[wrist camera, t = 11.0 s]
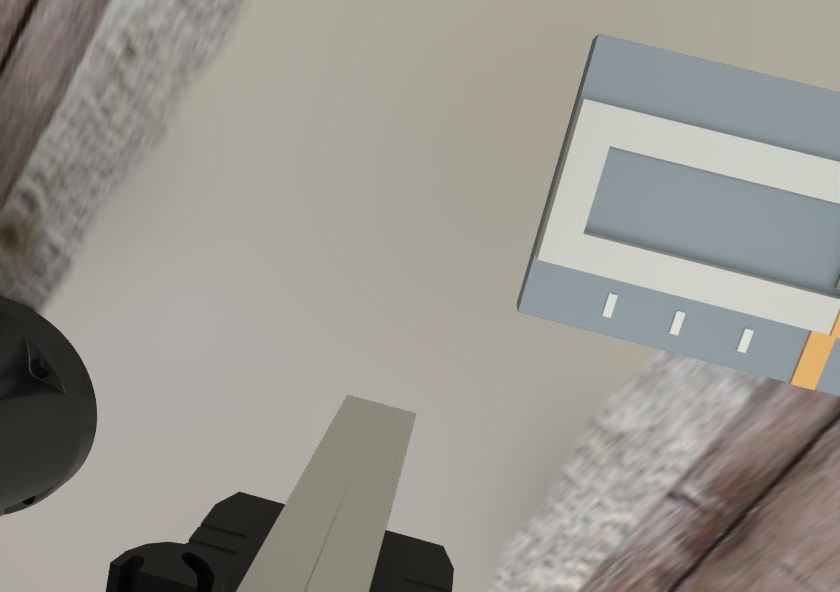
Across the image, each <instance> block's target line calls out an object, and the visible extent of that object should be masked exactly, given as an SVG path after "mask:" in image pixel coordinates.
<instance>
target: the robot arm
mask: <svg viewBox="0 0 840 592" xmlns="http://www.w3.org/2000/svg"><path fill="white" fill-rule="evenodd" d="M415 417H416V413H413V412H409V411H406V410H402V409H398V408H395V407H391V406H387V405H384V404H380V403H376V402H372V401H369V400H365V399H361V398H358V397H354V396H350V395H347V396H346V398H345V400H344V401H343V404H342V405H341V407H340V409H339V410H338V412H337V414H336V416H335V418H334V419H333V421H332V423H331V425H330V426H329V428H328V430H327V432H326V434H325V435H324V437H323V439H322V441H321V442H320V444H319V446H318V448H317V449H316V451H315V453H314V455H313V456H312V458H311V460H310V462H309V464H308V465H307V467H306V469H305V471H304V472H303V474H302V476H301V478H300V479H299V481H298V483H297V485H296V486H295V489H294V490H293V492H292V494H291V495H290V497H289V499H288V501H287V502H286V504H282V503H278V502H275V501H271V500H267V499H264V498H260V497H256V496H253V495H249V494H246V493H242V492H238V493H236V494H234V495H232V496H230V497H229V498H227V499H225V500H223V501H221V502H219V503H217V504H215V506H214V507H213V508H212V510H211V511H210V512H209V514H208V515H207V516H206V518H205V519H204V520H203V522H202V523H201V526H200V527H198V528H197V529H196V531H195V532H194V533H193V535H192V536H191V537H190V539H189V542H188V543H186V544H181V543H174V542H161V543H151V544H145V545H142V546H139V547H137V548H134V549H131V550H128V551H125V552H124V553H123V554H122V555H120V556H119V557H118V558H116V559H115V560H114V561H112V562H111V563H110V569H109V575H108V581H107V588H106V592H452V584H453V572H454V568H453V566H452V564H451V562H450V559H449V557H448V556H447V553H446V551H445V549H444V547H443V546H441V545H438V544H434V543H430V542H427V541H423V540H420V539H416V538H412V537H409V536H405V535H402V534H398V533H394V532H391V531H387V530H386V527H387V523H388V520H389V516H390V512H391V508H392V504H393V500H394V497H395V493H396V489H397V486H398V482H399V477H400V474H401V470H402V466H403V463H404V459H405V455H406V451H407V447H408V444H409V440H410V436H411V432H412V428H413V424H414V420H415ZM96 424H97V406H96V399H95V393H94V389H93V386H92V382H91V380H90V377H89V374H88V372H87V370H86V367H85V366H84V364H83V362H82V360H81V358H80V356H79V355H78V353H77V352H76V350H75V349H74V347H73V346H72V345H71V343H70V342H69V341H68V340H67V339H66V338H65V336H64V335H63V334H62V333H61V332H60V331H59V330H58V329H57V328H56V327H55V326H53V325H52V324H51V323H50V322H49V321H47V320H46V319H45V318H43V317H42V316H41V315H39V314H37V313H36V312H34V311H33V310H31V309H29V308H27V307H25V306H23V305H21V304H18V303H16V302H13V301H11V300H7V299H4V298H0V516H2V515H4V514H10V513H13V512H17V511H20V510H23V509H25V508H28V507H30V506H32V505H34V504H36V503H38V502H40V501H41V500H43V499H45V498H46V497H48V496H49V495H50V494H52V493H53V492H54V491H55V490H57V489H58V488H59V487H60V486H62V485H63V484H64V483H66V482H67V481H68V480H69V479H70V478H71V477H73V475H74V474H75V473H76V472H77V471H78V470H79V469H80V467H81V466H82V465H83V463H84V462H85V460H86V458H87V456H88V454H89V452H90V450H91V447H92V444H93V441H94V437H95V432H96Z"/></svg>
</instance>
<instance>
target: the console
mask: <svg viewBox="0 0 840 592" xmlns="http://www.w3.org/2000/svg"><path fill="white" fill-rule="evenodd" d="M839 279H840V92H836V91H832V90H827V89H823V88H819V87H815V86H811V85H807V84H803V83H799V82H795V81H790V80H786V79H782V78H778V77H774V76H770V75H766V74H761V73H758V72H753V71H749V70H745V69H741V68H737V67H732V66H729V65H725V64H721V63H716V62H712V61H708V60H704V59H700V58H696V57H692V56H688V55H683V54H679V53H675V52H671V51H667V50H663V49H659V48H655V47H650V46H647V45H642V44H638V43H634V42H630V41H626V40H622V39H618V38H614V37H610V36H605V35H601V34H598V35H597V36H596V37H595V38H594V39H593V41H592V45H591V49H590V52H589V55H588V59H587V62H586V66H585V69H584V73H583V76H582V80H581V83H580V86H579V90H578V94H577V97H576V100H575V104H574V107H573V111H572V114H571V118H570V121H569V125H568V128H567V132H566V135H565V139H564V142H563V145H562V149H561V152H560V156H559V159H558V163H557V166H556V170H555V173H554V177H553V180H552V184H551V187H550V190H549V194H548V197H547V201H546V205H545V208H544V211H543V215H542V218H541V222H540V226H539V229H538V232H537V236H536V239H535V243H534V246H533V249H532V253H531V257H530V260H529V263H528V267H527V270H526V274H525V278H524V281H523V284H522V288H521V291H520V295H519V298H518V302H517V309H518V312H520V313H524V314H528V315H532V316H535V317H539V318H543V319H547V320H551V321H554V322H558V323H562V324H566V325H570V326H574V327H578V328H581V329H585V330H589V331H593V332H596V333H601V334H604V335H608V336H612V337H616V338H620V339H623V340H627V341H631V342H635V343H638V344H642V345H646V346H650V347H654V348H658V349H661V350H665V351H669V352H673V353H677V354H680V355H684V356H688V357H692V358H696V359H700V360H703V361H707V362H711V363H715V364H719V365H722V366H726V367H730V368H734V369H738V370H742V371H745V372H749V373H753V374H757V375H761V376H764V377H768V378H772V379H776V380H780V381H784V382H787V383H790V384H792V385H796V386H800V387H803V388H807V389H811V390H818V391H822V392H826V393H829V394H833V395H837V396H840V290H839V289H837V288H836V286H837V283H838V281H839Z"/></svg>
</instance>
